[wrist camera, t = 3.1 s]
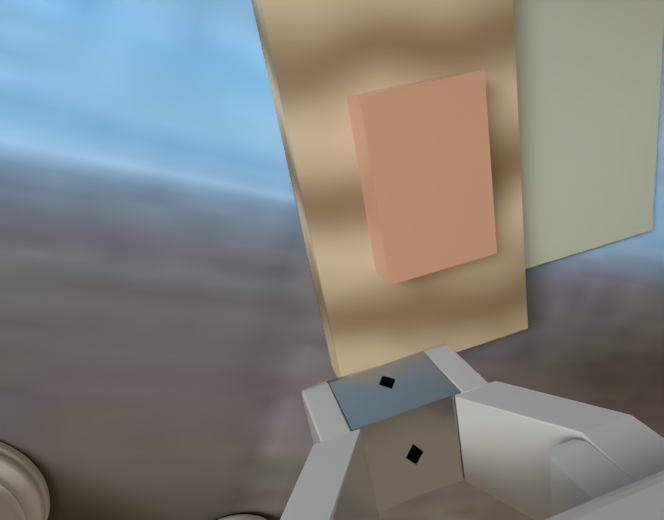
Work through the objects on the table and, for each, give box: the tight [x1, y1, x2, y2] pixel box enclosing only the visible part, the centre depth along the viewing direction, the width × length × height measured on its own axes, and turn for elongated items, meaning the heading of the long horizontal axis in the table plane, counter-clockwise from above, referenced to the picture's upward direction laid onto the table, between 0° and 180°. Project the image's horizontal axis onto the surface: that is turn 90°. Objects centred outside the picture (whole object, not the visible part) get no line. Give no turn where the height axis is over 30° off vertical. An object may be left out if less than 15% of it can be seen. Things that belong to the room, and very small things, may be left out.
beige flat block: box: [252, 0, 528, 378], centre depth 26 cm, size 22×12×2 cm, turn 11°
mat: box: [513, 0, 664, 269], centre depth 29 cm, size 16×11×1 cm
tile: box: [346, 70, 497, 285], centre depth 24 cm, size 9×6×2 cm, turn 11°
